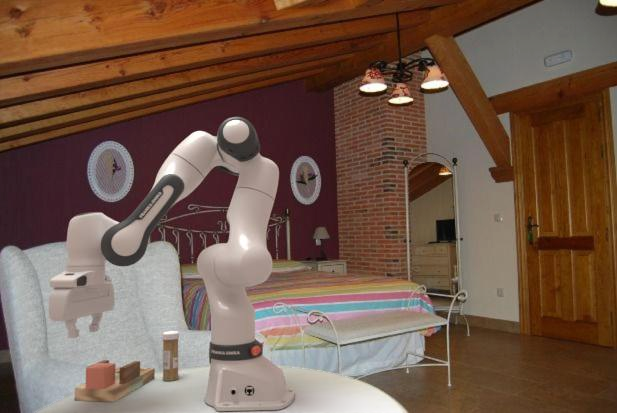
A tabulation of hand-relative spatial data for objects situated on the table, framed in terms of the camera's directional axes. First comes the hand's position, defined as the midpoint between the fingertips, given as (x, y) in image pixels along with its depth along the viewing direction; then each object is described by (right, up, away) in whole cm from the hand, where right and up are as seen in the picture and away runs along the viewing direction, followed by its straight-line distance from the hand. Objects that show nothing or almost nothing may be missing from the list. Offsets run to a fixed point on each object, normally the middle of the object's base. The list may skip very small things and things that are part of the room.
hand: (84, 334), depth 112 cm
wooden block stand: (+3, -18, +13) cm, 22 cm away
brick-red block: (+1, -15, +6) cm, 16 cm away
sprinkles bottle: (+15, -19, +21) cm, 32 cm away
